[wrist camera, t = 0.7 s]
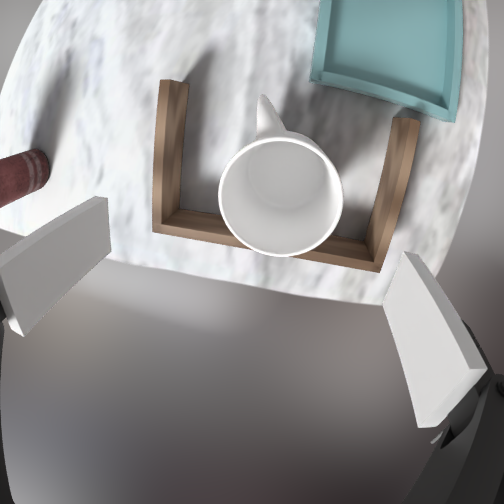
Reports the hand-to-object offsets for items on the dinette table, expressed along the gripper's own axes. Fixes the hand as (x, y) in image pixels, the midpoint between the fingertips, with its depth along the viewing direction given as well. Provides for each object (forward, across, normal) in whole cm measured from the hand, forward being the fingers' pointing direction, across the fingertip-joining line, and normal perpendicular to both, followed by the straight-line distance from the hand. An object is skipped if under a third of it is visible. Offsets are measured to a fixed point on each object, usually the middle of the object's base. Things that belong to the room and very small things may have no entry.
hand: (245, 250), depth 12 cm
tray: (+19, +9, +18) cm, 28 cm away
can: (+19, -34, -3) cm, 39 cm away
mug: (+19, 0, +1) cm, 19 cm away
